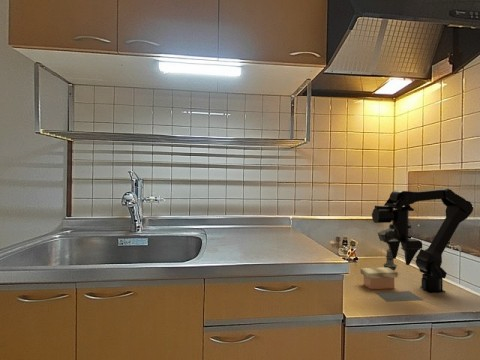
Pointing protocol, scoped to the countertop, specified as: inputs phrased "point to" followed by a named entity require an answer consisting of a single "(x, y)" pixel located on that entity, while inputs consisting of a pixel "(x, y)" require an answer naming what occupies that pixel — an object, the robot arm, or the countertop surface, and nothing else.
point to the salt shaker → (389, 261)
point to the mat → (398, 296)
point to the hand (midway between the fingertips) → (400, 261)
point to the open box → (379, 283)
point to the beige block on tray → (378, 272)
